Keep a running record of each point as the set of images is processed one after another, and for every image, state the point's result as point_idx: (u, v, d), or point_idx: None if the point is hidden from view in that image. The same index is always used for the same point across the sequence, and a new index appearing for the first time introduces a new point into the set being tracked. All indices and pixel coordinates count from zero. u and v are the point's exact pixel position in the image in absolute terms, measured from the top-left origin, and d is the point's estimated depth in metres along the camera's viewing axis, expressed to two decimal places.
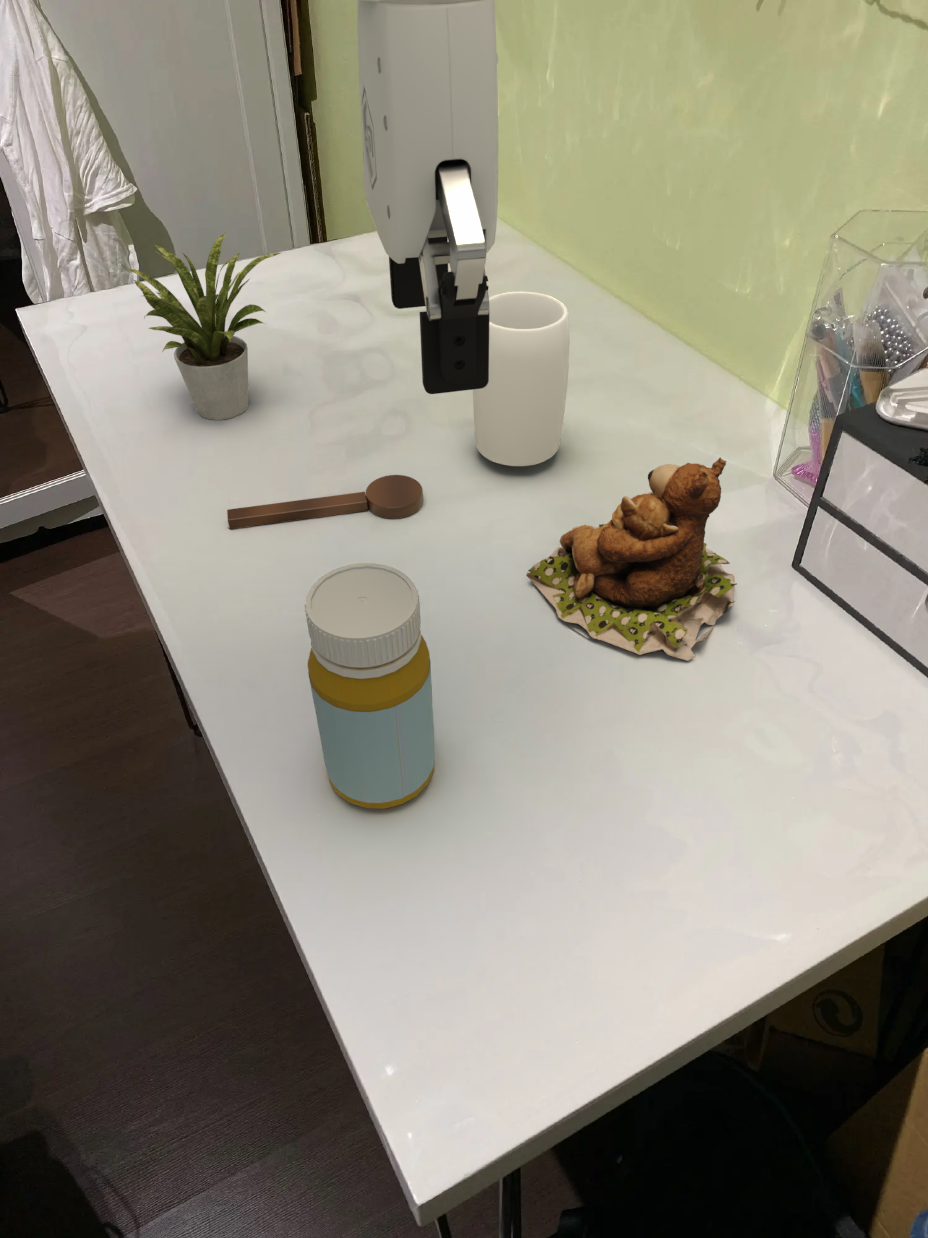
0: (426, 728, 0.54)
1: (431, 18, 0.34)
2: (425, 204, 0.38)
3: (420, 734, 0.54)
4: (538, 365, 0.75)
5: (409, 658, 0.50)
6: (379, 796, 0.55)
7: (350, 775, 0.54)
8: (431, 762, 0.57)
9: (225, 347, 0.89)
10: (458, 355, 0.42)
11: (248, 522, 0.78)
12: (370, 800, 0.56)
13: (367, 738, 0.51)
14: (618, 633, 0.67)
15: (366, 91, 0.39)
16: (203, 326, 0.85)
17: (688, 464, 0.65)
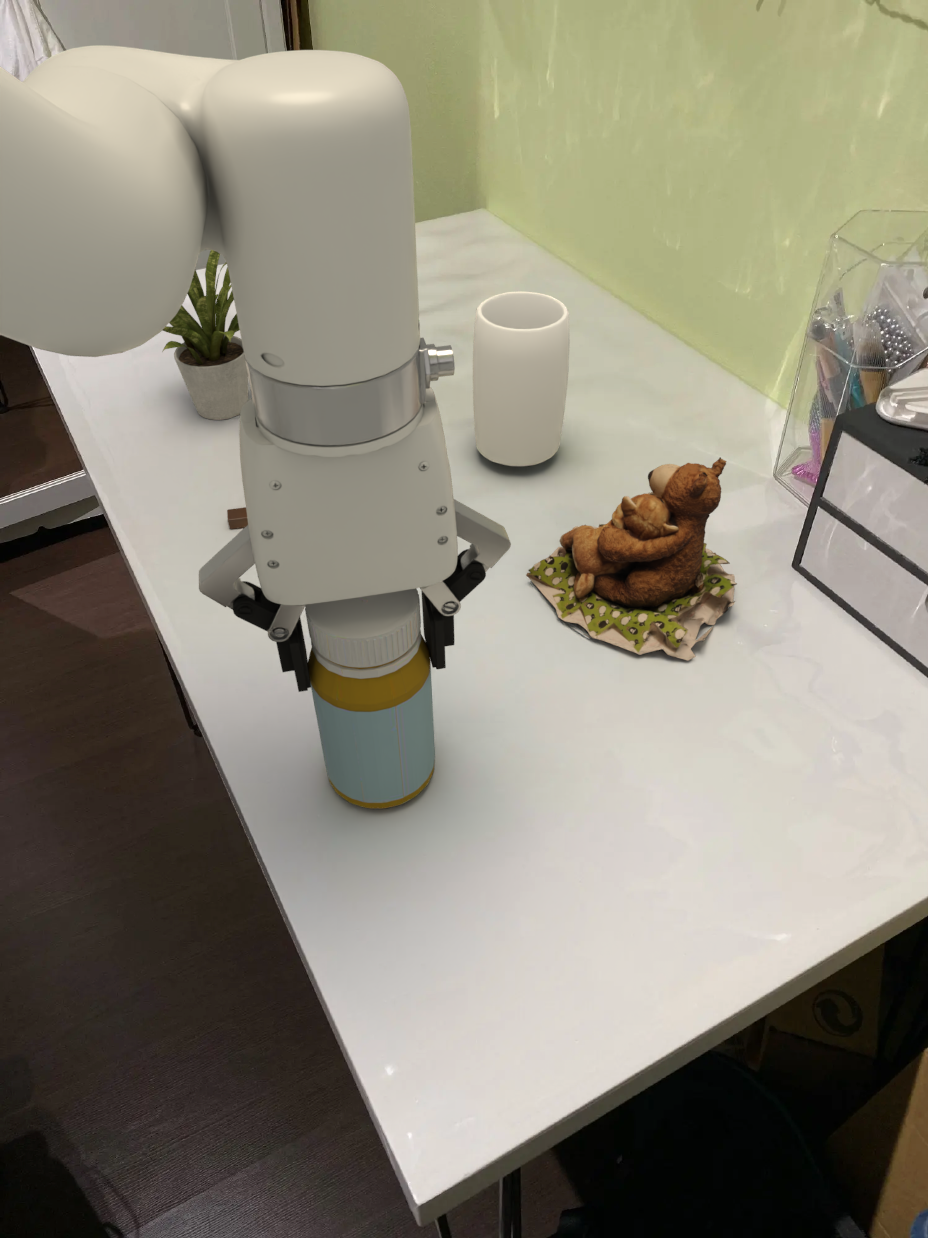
0: (426, 728, 0.54)
1: (240, 422, 0.41)
2: None
3: (420, 734, 0.54)
4: (538, 365, 0.75)
5: (409, 658, 0.50)
6: (379, 796, 0.55)
7: (350, 775, 0.54)
8: (431, 762, 0.57)
9: (225, 347, 0.89)
10: None
11: None
12: (370, 800, 0.56)
13: (367, 738, 0.51)
14: (618, 633, 0.67)
15: None
16: (203, 326, 0.85)
17: (688, 464, 0.65)
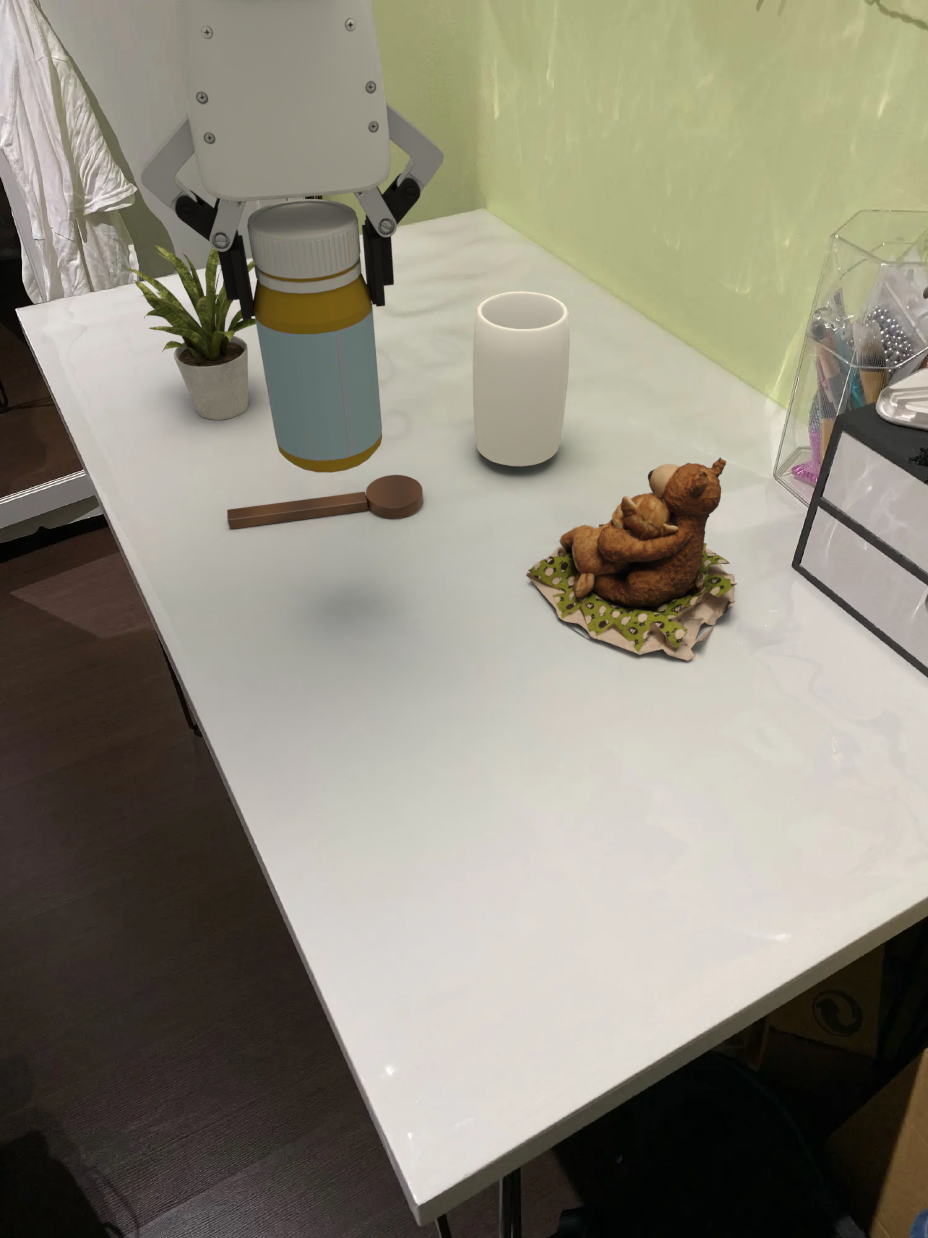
0: (369, 377, 0.56)
1: None
2: None
3: (363, 380, 0.55)
4: (538, 365, 0.75)
5: (348, 280, 0.51)
6: (325, 451, 0.57)
7: (296, 425, 0.56)
8: (377, 428, 0.59)
9: (225, 347, 0.89)
10: None
11: (248, 522, 0.78)
12: (316, 456, 0.57)
13: (310, 371, 0.53)
14: (618, 633, 0.67)
15: None
16: (203, 326, 0.85)
17: (688, 464, 0.65)
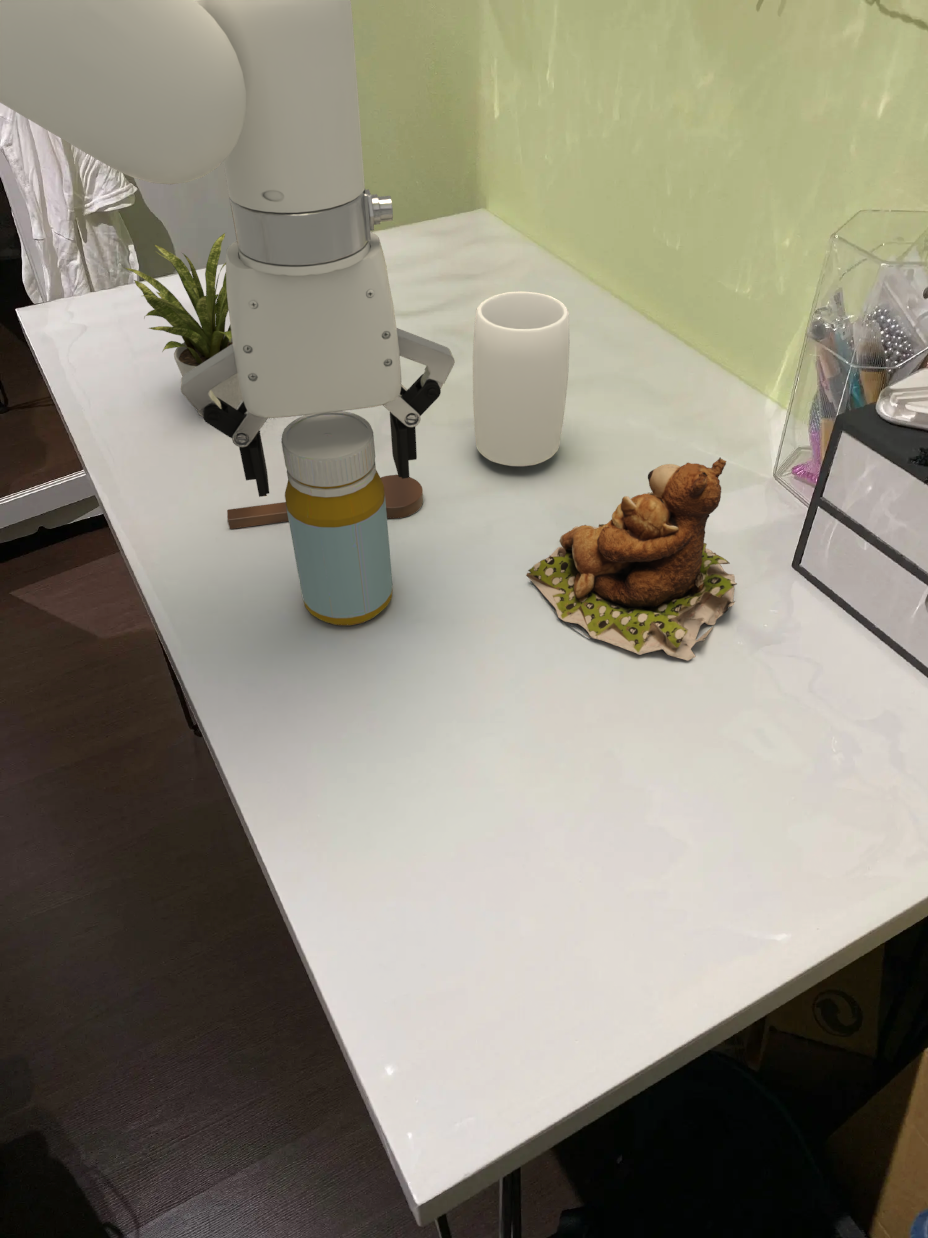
0: (382, 552, 0.66)
1: (226, 257, 0.52)
2: None
3: (377, 555, 0.66)
4: (538, 365, 0.75)
5: (365, 483, 0.62)
6: (344, 611, 0.67)
7: (320, 591, 0.66)
8: (388, 588, 0.69)
9: (225, 347, 0.89)
10: None
11: (248, 522, 0.78)
12: (337, 615, 0.68)
13: (333, 553, 0.64)
14: (618, 633, 0.67)
15: None
16: (203, 326, 0.85)
17: (688, 464, 0.65)
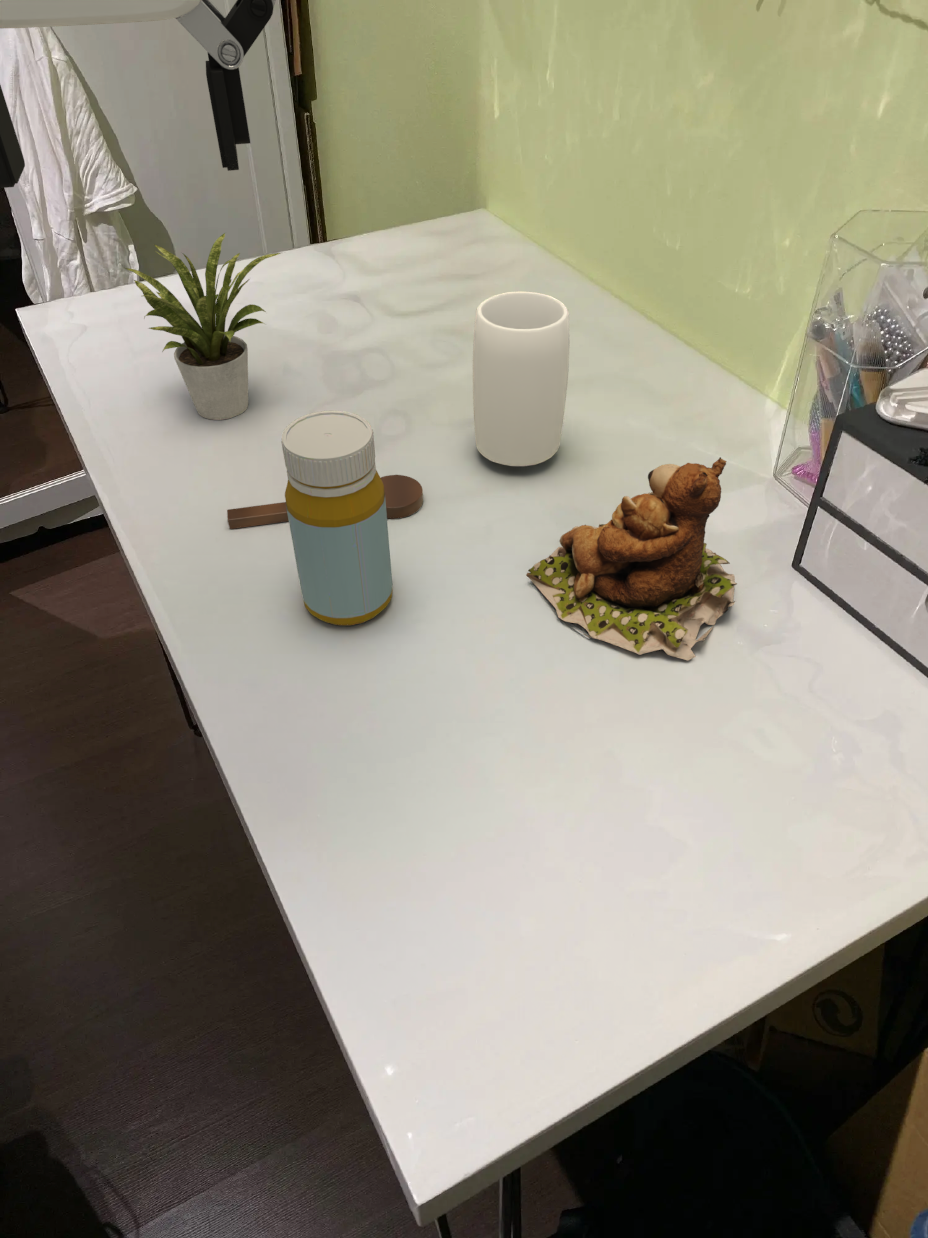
0: (382, 552, 0.66)
1: None
2: None
3: (377, 555, 0.66)
4: (538, 365, 0.75)
5: (365, 483, 0.62)
6: (344, 611, 0.67)
7: (320, 591, 0.66)
8: (388, 588, 0.69)
9: (225, 347, 0.89)
10: None
11: (248, 522, 0.78)
12: (337, 615, 0.68)
13: (333, 553, 0.64)
14: (618, 633, 0.67)
15: None
16: (203, 326, 0.85)
17: (688, 464, 0.65)
